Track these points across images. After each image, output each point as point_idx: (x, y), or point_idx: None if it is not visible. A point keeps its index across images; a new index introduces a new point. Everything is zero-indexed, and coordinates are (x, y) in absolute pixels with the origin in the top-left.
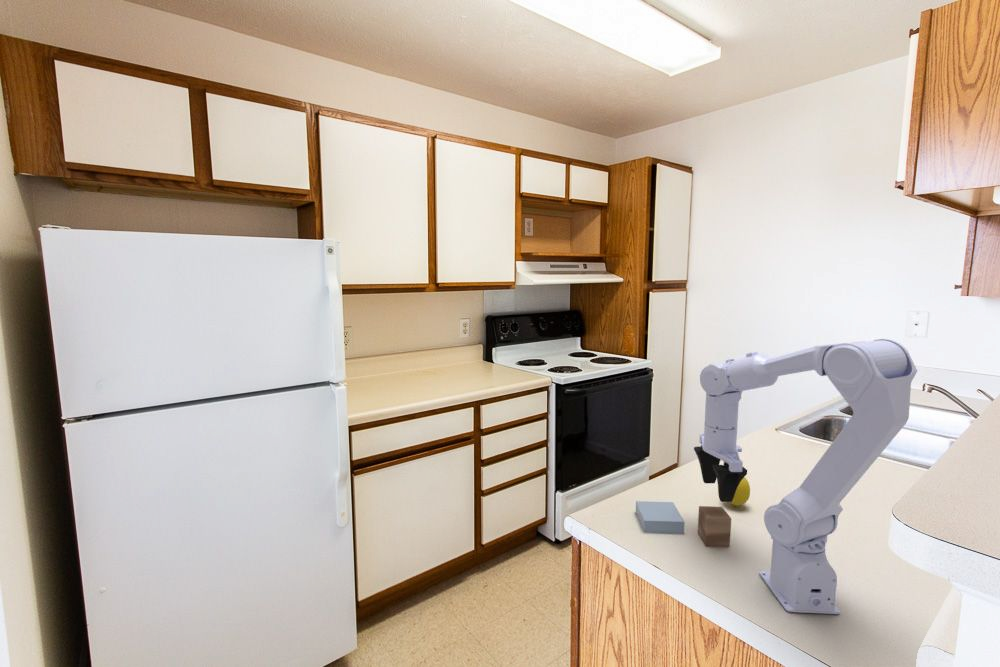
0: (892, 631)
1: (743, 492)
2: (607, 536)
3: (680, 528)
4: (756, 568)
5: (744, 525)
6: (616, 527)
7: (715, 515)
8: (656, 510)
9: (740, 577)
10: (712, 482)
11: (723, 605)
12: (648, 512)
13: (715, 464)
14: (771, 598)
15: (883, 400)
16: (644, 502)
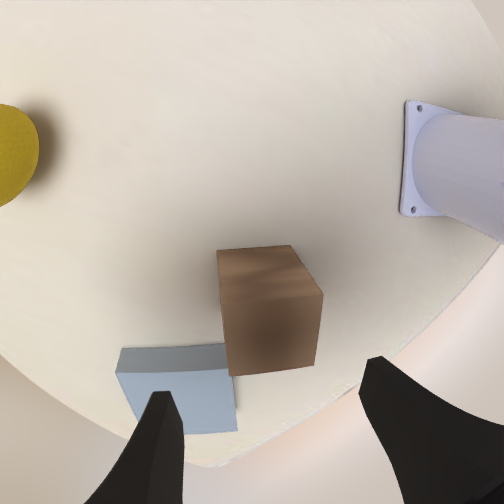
0: (498, 71)
1: (16, 138)
2: (256, 445)
3: None
4: (379, 208)
5: (144, 149)
6: (222, 438)
7: (299, 341)
8: (180, 411)
9: (402, 258)
10: (172, 402)
11: (446, 307)
12: (195, 424)
13: (156, 493)
14: (452, 222)
15: None
16: None
